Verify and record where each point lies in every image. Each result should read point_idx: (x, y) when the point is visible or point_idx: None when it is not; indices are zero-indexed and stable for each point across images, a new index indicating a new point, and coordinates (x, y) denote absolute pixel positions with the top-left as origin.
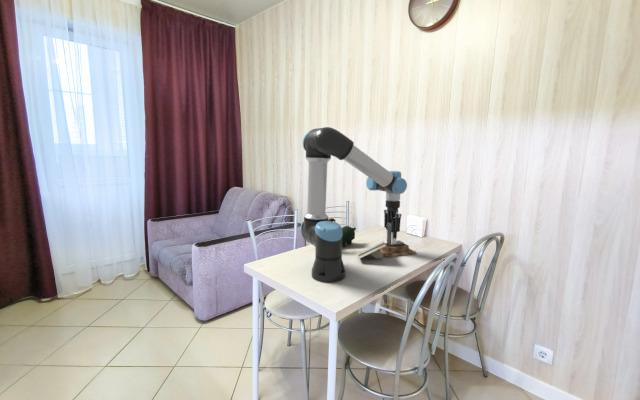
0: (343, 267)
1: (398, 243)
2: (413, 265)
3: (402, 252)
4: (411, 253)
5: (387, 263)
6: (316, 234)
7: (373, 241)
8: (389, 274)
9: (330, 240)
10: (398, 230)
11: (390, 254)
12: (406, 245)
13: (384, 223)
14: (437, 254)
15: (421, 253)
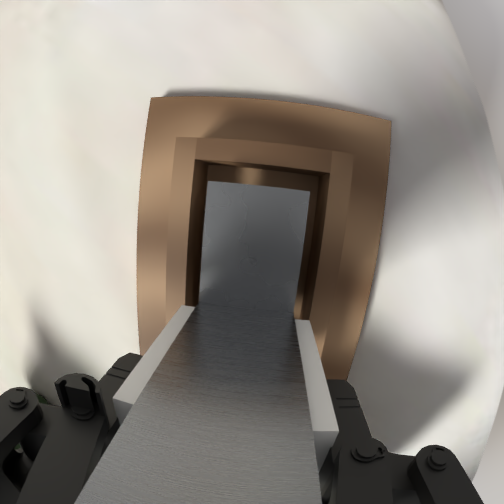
0: None
1: (299, 271)
2: (497, 317)
3: (348, 246)
4: (385, 175)
5: (400, 424)
6: None
7: (11, 247)
8: (462, 448)
9: None
10: (443, 480)
11: (332, 366)
12: (338, 174)
13: (12, 482)
14: (432, 22)
15: (389, 82)
